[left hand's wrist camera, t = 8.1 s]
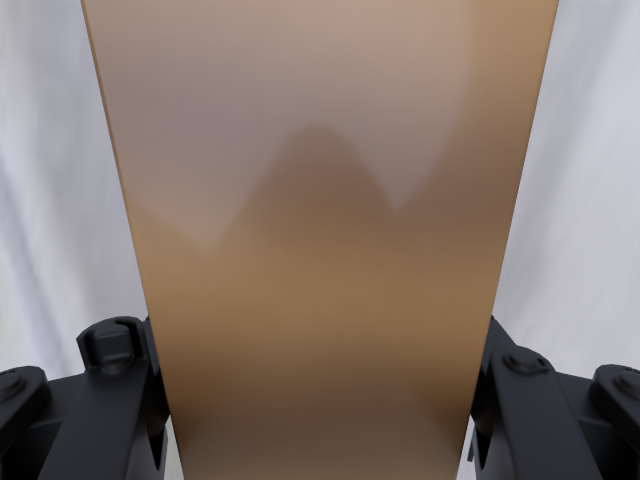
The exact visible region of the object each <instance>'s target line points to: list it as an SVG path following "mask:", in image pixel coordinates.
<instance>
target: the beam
mask: <svg viewBox="0 0 640 480" xmlns="http://www.w3.org/2000/svg"><path fill="white" fill-rule="evenodd" d="M558 2H559V0H81V5H82V9H83V14H84V19H85V23H86V28H87V33H88V37H89V42H90V46H91V51H92V56H93V60H94V65H95V69H96V74H97V79H98V83H99V88H100V92H101V97H102V102H103V106H104V111H105V116H106V120H107V125H108V129H109V134H110V139H111V143H112V148H113V152H114V157H115V162H116V166H117V171H118V175H119V180H120V185H121V189H122V194H123V199H124V203H125V208H126V212H127V217H128V222H129V226H130V231H131V235H132V240H133V245H134V249H135V254H136V258H137V263H138V268H139V272H140V277H141V282H142V286H143V291H144V295H145V300H146V305H147V309H148V314H149V318H150V323H151V328H152V332H153V337H154V342H155V346H156V351H157V355H158V360H159V365H160V369H161V374H162V378H163V383H164V388H165V392H166V397H167V401H168V406H169V411H170V415H171V420H172V425H173V429H174V434H175V438H176V443H177V448H178V452H179V457H180V461H181V466H182V471H183V475H184V480H456V477H457V473H458V468H459V463H460V459H461V454H462V449H463V445H464V440H465V436H466V431H467V426H468V422H469V417H470V412H471V408H472V403H473V398H474V394H475V389H476V384H477V380H478V375H479V370H480V366H481V361H482V356H483V352H484V347H485V342H486V338H487V333H488V328H489V324H490V319H491V314H492V310H493V305H494V300H495V296H496V291H497V286H498V282H499V277H500V272H501V268H502V263H503V259H504V254H505V249H506V245H507V240H508V235H509V231H510V226H511V221H512V217H513V212H514V207H515V203H516V198H517V193H518V189H519V184H520V179H521V175H522V170H523V165H524V161H525V156H526V151H527V147H528V142H529V137H530V133H531V128H532V123H533V119H534V114H535V109H536V105H537V100H538V95H539V91H540V86H541V82H542V77H543V72H544V68H545V63H546V58H547V54H548V49H549V44H550V40H551V35H552V30H553V26H554V21H555V16H556V12H557V7H558Z"/></svg>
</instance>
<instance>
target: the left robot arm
mask: <svg viewBox="0 0 640 480" xmlns="http://www.w3.org/2000/svg"><path fill="white" fill-rule="evenodd" d="M76 340H77V343H78V346H79V350H80V353H81V356H82V359H83V363H84V366H85V369H86V370H85V372H84V373H82V374H79V375H74V376H70V377H65V378H60V379H56V380H51V381H48V380H47V377H46V375H45V372H44V371H43V370H42V369H41V368H39V367H35V366H23V367H17V368H13V369H9V370H6V371H3V372H0V480H164V471H165V462H166V453H167V443H168V436H167V430H166V426H165V424H166V422H167V420H168V418H169V415H170V411H169V406H168V401H167V397H166V392H165V388H164V383H163V378H162V374H161V369H160V365H159V360H158V355H157V351H156V346H155V342H154V337H153V332H152V328H151V323H150V318H149V315H148V316H147V318H146V321H143V322H142V321H141V320H139V319H138V318H135V317H130V316H123V317H114V318H110V319H106V320H103V321H101V322H98V323H96V324H93V325H92V326H90V327H88V328H87V329H85V330H84V331H82V333H81V334H80V335H79V336H78V337H77V338H76ZM470 414H471V416H472V418H473V421H474V423H475V426H474V430H473V435H472V439H471V444H470V448H469V453H468V459H467V461H470V462H472V460H473V456H474V461H475V470H476V480H640V371H639V370H636V369H632V368H630V367H626V366H621V365H614V364H608V365H601V366H600V367H599V368H597V369H596V371H595V374H594V376H593V379H592V380H591V379H587V378H582V377H577V376H573V375H568V374H563V373H560V372H556V371H555V369H554V368H553V366H552V365H551V363H550V362H549V361H548V360H547V359H545V358H544V357H543V356H542V355H540V354H539V353H537V352H534V351H532V350H530V349H528V348H525V347H521V346H518V345H516V344H515V343H514V342H513V340H512V339H511V338H510V337H509V335H508V334H507V333H506V332H505V330H504V329H503V328H502V327H501V325H500V324H499V323H498V322H497V320H496V319H494V317H493V315H492V314H491V319H490V324H489V328H488V333H487V338H486V342H485V347H484V352H483V356H482V361H481V366H480V370H479V375H478V380H477V384H476V389H475V394H474V398H473V403H472V408H471V412H470Z"/></svg>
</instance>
